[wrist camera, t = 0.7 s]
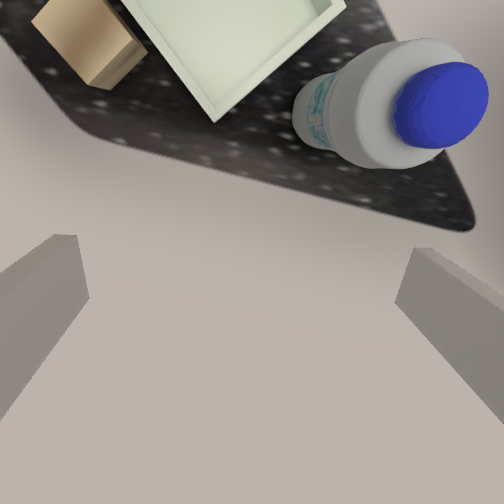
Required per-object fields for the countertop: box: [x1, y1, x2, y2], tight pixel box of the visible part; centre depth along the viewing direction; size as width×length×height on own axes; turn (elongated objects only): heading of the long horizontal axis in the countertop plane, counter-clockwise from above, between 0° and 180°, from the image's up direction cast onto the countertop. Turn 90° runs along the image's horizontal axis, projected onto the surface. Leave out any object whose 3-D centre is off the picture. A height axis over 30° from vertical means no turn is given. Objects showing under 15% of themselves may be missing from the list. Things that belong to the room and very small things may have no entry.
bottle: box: [292, 38, 489, 169], centre depth 21 cm, size 7×7×20 cm
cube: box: [31, 0, 148, 90], centre depth 24 cm, size 5×5×5 cm
